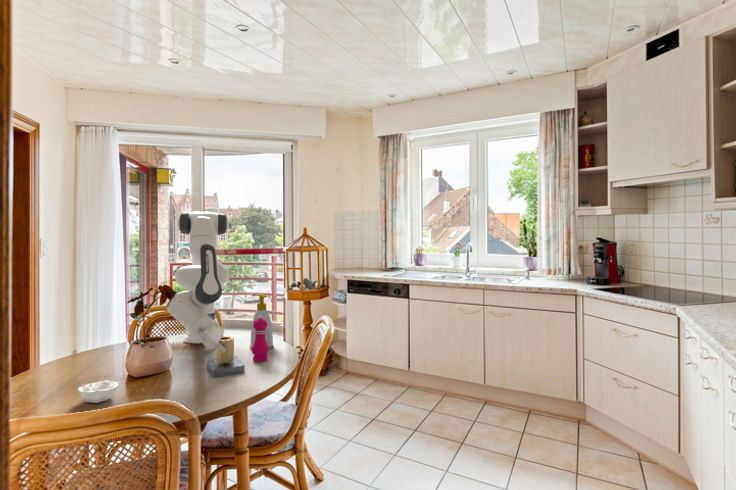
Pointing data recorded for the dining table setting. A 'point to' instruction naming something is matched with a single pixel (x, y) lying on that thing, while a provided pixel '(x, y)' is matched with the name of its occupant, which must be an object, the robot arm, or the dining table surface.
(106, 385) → the cell model
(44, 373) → the dining table surface
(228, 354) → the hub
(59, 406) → the dining table surface
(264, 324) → the pepper mill
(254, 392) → the dining table surface
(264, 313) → the soap bottle
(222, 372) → the shaft block
